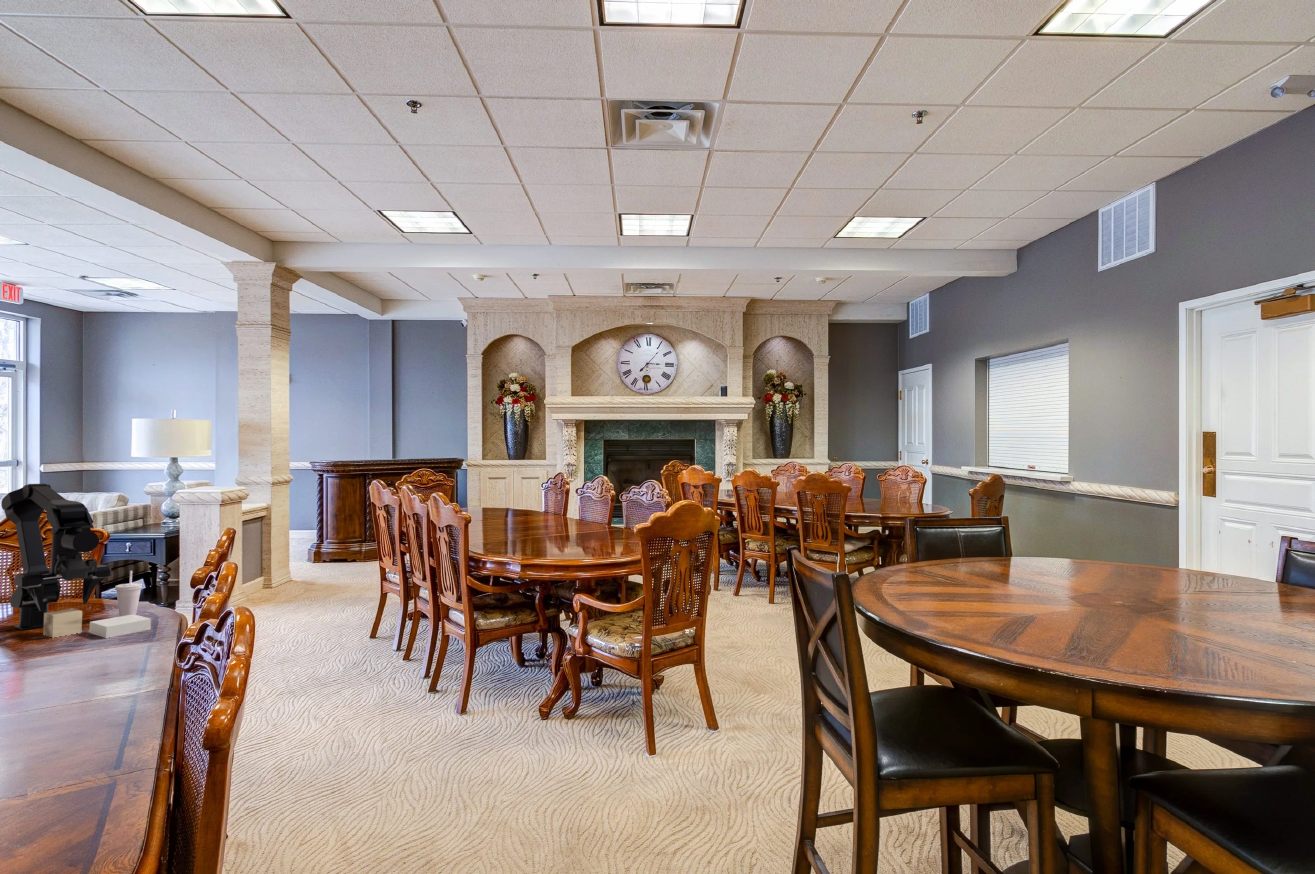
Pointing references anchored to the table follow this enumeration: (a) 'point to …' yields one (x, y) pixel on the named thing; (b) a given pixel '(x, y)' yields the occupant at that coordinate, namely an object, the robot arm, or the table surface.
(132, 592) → the smoothie
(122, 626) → the plinth
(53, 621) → the maple cube
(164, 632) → the table surface
